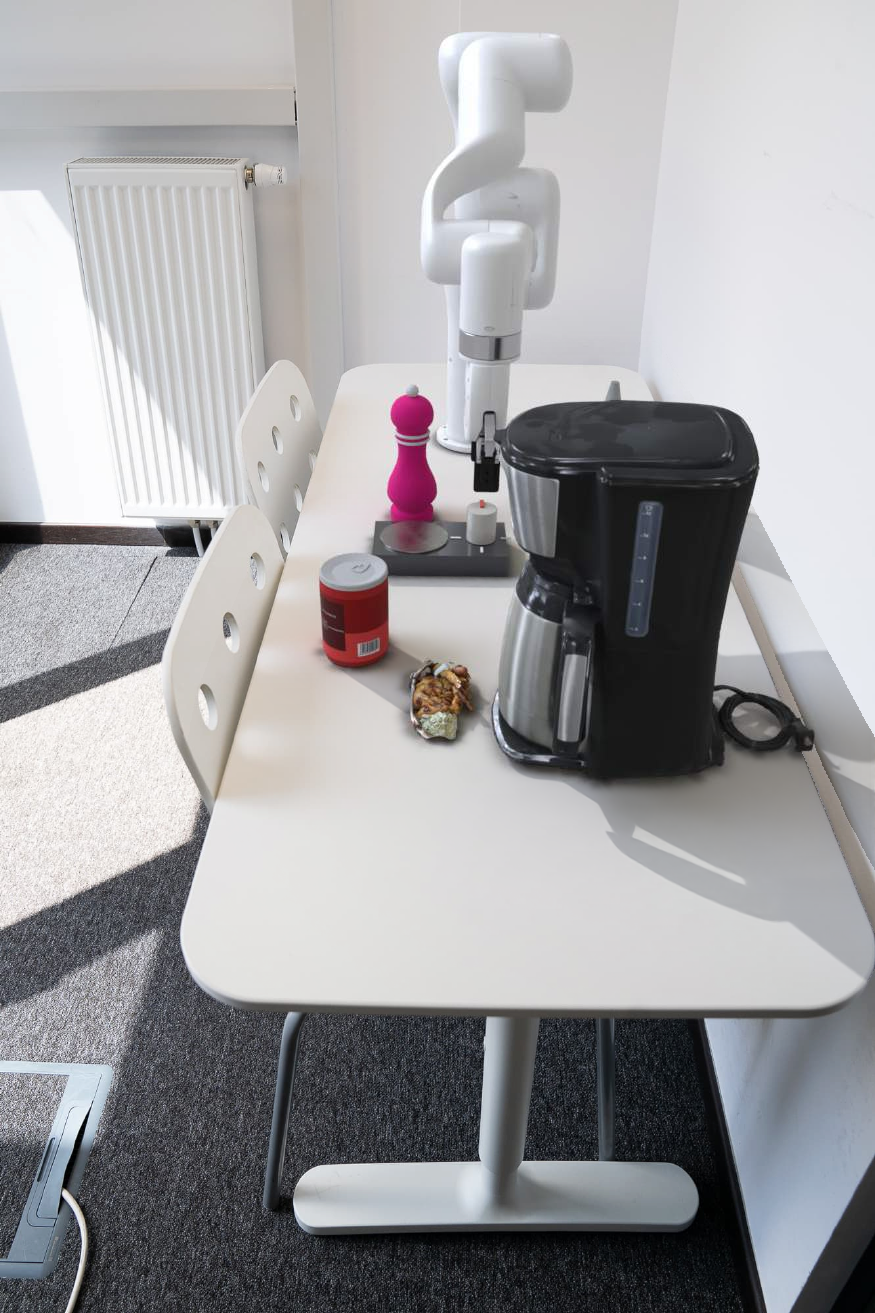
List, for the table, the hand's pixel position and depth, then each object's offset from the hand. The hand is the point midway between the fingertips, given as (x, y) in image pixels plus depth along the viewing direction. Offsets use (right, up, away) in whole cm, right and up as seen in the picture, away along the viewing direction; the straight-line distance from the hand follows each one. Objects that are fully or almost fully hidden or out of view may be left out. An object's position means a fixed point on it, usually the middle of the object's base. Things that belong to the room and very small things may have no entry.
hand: (484, 475), depth 133 cm
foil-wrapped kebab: (-6, -29, -21) cm, 36 cm away
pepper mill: (-10, -3, +17) cm, 20 cm away
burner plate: (-9, -7, +5) cm, 13 cm away
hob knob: (0, -7, +5) cm, 9 cm away
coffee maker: (+14, -33, -26) cm, 44 cm away
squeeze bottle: (+19, +1, +24) cm, 31 cm away
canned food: (-16, -23, -12) cm, 30 cm away
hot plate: (-6, -10, +7) cm, 14 cm away
